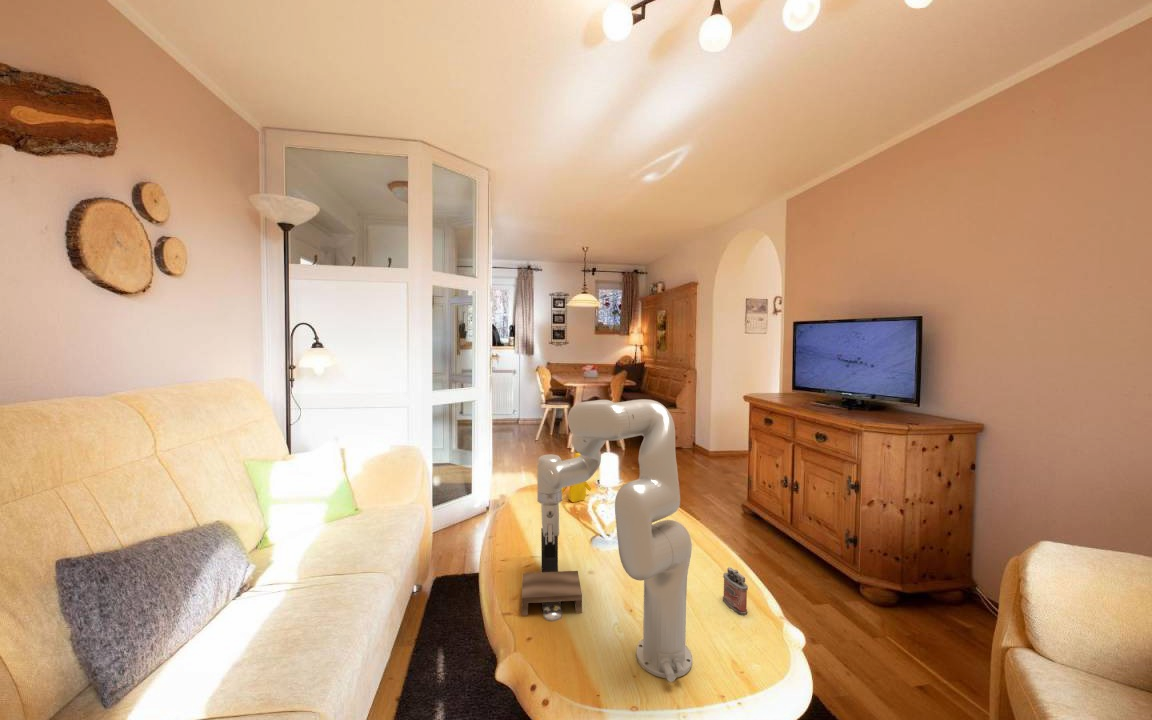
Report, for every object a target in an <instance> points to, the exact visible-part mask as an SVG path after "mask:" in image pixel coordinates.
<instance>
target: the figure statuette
mask: <svg viewBox="0 0 1152 720" xmlns="http://www.w3.org/2000/svg"><path fill="white" fill-rule="evenodd" d="M580 455H581V454H580V453H578V452H575V453H574V456H573V458H577V457H579V456H580ZM567 488H568V487H564V488H562V494H563V493H564V491H565V490H566V489H567ZM586 489H587V490H588V492H589V491H590V492H591V490H592V487H591V486H590V485H589V484H588V482H587V481H585V482H582V483H579V484H575V485H571V486H569V488H568V494H567V495H568V498H567V499H568V501H570V502H571V503H577V502H581V501H585V500H586V496H587V490H586Z"/></svg>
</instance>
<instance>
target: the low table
mask: <svg viewBox="0 0 1152 720" xmlns="http://www.w3.org/2000/svg"><path fill="white" fill-rule="evenodd" d="M579 576H580V575H579V570H563V571H558V572H542V571H541V572H524V573H522V584H521V585H522V586H521V617H528V615H529V604H531V603H533V604H535V603H542V602H557V601H560V602H570V601H571V602H573V603H574V608H575V613H576V614H582V613H583V591H582V587H581V582H580V577H579Z"/></svg>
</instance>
